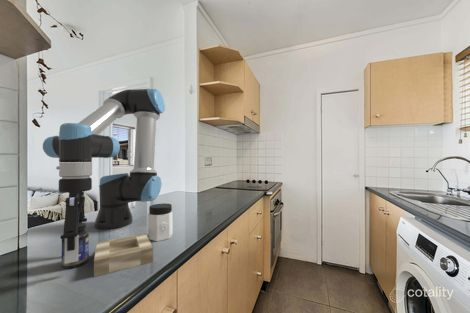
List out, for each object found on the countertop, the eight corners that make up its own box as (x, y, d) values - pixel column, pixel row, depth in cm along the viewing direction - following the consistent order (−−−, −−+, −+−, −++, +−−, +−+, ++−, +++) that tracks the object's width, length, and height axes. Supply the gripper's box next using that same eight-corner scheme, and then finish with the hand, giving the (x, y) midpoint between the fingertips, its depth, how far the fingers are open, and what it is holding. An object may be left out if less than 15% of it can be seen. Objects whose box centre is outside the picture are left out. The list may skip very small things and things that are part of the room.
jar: (150, 243, 72) (150, 209, 72) (146, 236, 79) (146, 205, 79) (175, 237, 77) (175, 205, 77) (169, 231, 84) (169, 202, 84)
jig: (97, 252, 65) (97, 239, 65) (144, 242, 73) (144, 231, 73) (93, 276, 51) (93, 260, 51) (152, 261, 59) (152, 247, 59)
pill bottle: (91, 263, 58) (91, 224, 58) (63, 272, 54) (63, 230, 54) (85, 256, 62) (85, 220, 63) (59, 264, 58) (59, 225, 58)
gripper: (67, 175, 67) (66, 240, 67) (46, 181, 46) (45, 277, 46) (94, 174, 71) (94, 236, 71) (87, 179, 50) (87, 267, 49)
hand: (75, 252), depth 58 cm, fingers open, 12 cm apart
